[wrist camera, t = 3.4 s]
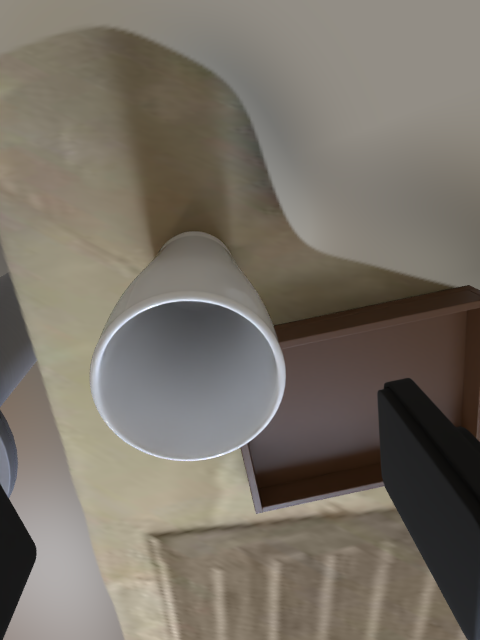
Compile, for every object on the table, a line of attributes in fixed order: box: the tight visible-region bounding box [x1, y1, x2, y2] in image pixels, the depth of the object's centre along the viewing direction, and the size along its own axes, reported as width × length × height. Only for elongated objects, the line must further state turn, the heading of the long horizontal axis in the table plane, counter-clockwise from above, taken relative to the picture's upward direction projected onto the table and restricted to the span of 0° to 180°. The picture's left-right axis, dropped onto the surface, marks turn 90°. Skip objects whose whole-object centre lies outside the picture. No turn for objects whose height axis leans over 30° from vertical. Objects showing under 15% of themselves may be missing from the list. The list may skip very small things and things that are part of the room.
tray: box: [241, 285, 480, 514], centre depth 31 cm, size 19×15×3 cm
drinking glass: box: [90, 231, 286, 461], centre depth 20 cm, size 7×7×15 cm
